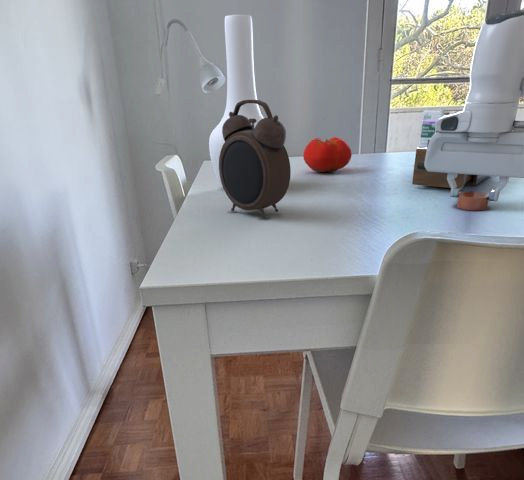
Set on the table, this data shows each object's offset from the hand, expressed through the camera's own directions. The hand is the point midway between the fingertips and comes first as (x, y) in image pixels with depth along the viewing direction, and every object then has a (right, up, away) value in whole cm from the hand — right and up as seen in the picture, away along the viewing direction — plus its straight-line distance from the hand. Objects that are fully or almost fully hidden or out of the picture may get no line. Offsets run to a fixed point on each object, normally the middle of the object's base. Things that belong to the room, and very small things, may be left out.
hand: (473, 198), depth 92 cm
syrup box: (+8, +25, +46) cm, 53 cm away
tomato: (-24, +21, +41) cm, 52 cm away
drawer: (+1, +9, +18) cm, 20 cm away
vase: (-46, +11, +25) cm, 53 cm away
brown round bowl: (0, -1, +1) cm, 2 cm away
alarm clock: (-43, -3, +1) cm, 43 cm away
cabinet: (+8, +14, +27) cm, 31 cm away
